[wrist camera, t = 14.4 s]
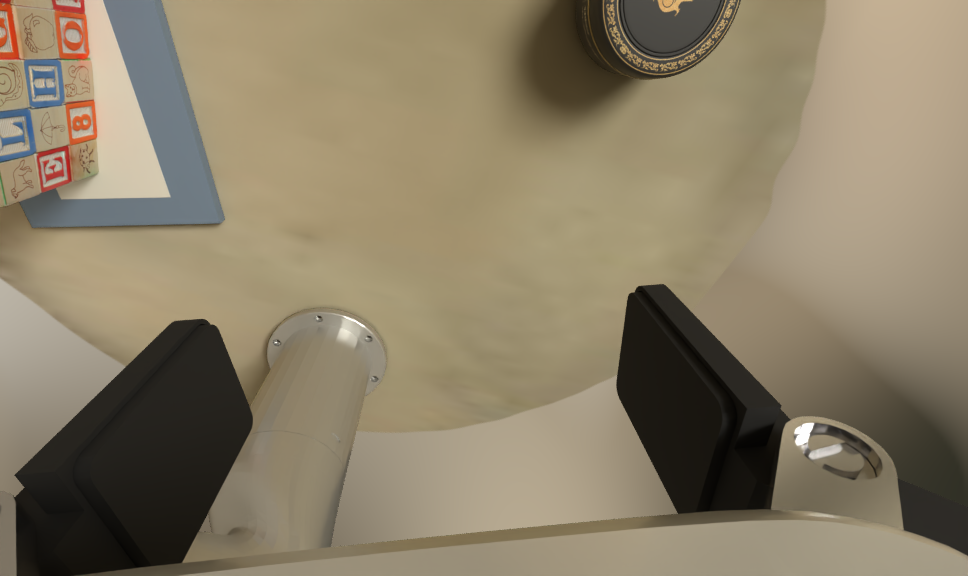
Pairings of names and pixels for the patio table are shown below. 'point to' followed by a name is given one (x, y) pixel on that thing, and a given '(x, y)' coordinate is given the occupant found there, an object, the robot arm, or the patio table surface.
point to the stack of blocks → (45, 98)
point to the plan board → (135, 131)
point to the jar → (652, 33)
